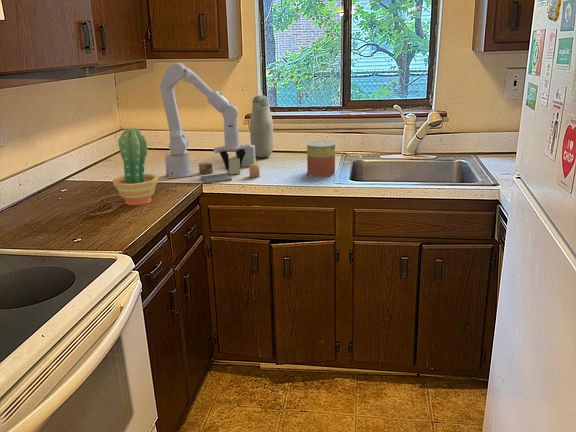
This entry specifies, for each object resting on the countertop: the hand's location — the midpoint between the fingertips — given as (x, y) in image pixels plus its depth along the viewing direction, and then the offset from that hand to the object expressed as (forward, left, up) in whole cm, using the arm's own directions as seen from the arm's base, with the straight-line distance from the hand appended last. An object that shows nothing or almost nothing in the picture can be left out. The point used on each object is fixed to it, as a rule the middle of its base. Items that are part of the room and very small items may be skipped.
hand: (233, 168), depth 217 cm
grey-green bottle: (+21, +23, -2) cm, 31 cm away
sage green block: (0, 0, -2) cm, 2 cm away
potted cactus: (-41, -22, -2) cm, 47 cm away
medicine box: (+9, +11, -2) cm, 14 cm away
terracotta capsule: (+6, -9, -2) cm, 11 cm away
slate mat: (-9, -6, -2) cm, 11 cm away
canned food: (+32, -16, -2) cm, 36 cm away
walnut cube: (-10, +6, -2) cm, 12 cm away
